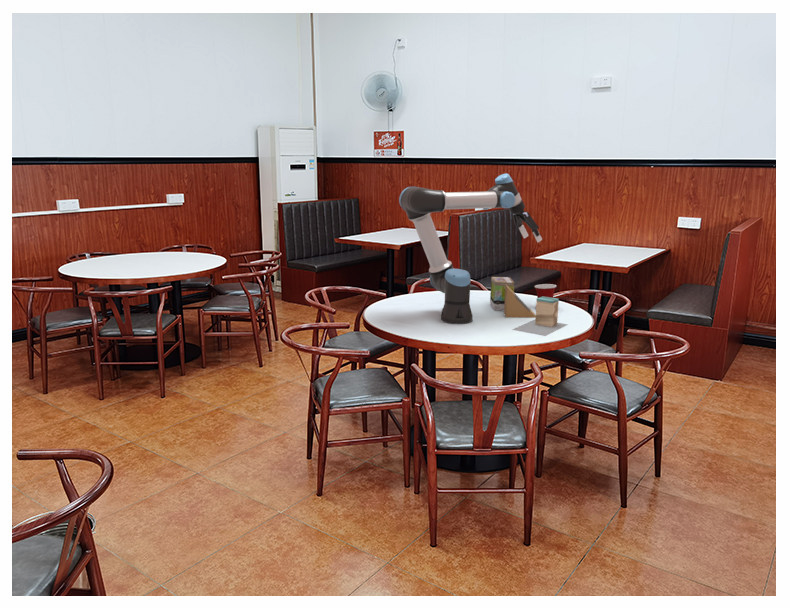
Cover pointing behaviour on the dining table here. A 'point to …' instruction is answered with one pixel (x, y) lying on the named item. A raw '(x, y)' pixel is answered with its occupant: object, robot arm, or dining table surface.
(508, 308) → the sandwich container
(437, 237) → the robot arm
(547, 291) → the plastic cup
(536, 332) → the grey mat
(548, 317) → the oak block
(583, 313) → the dining table surface
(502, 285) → the tea box
